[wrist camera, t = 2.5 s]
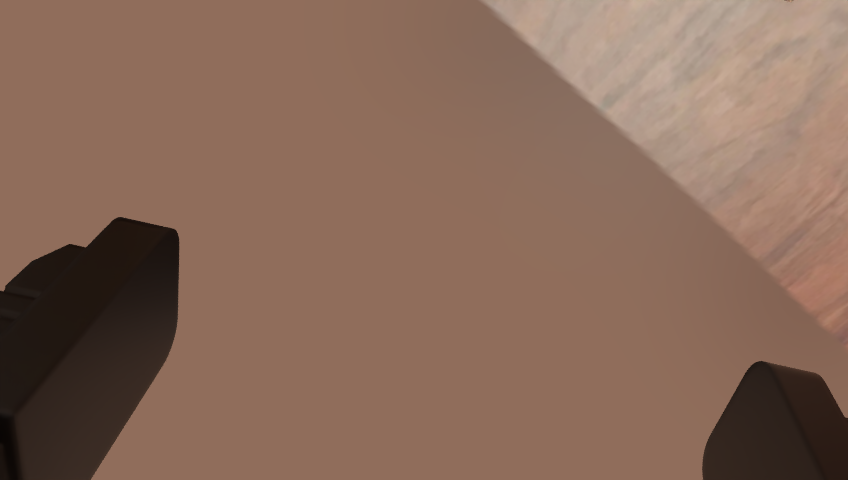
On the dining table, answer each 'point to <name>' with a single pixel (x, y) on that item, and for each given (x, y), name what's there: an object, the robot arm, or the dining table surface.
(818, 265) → the dining table surface
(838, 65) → the dining table surface
